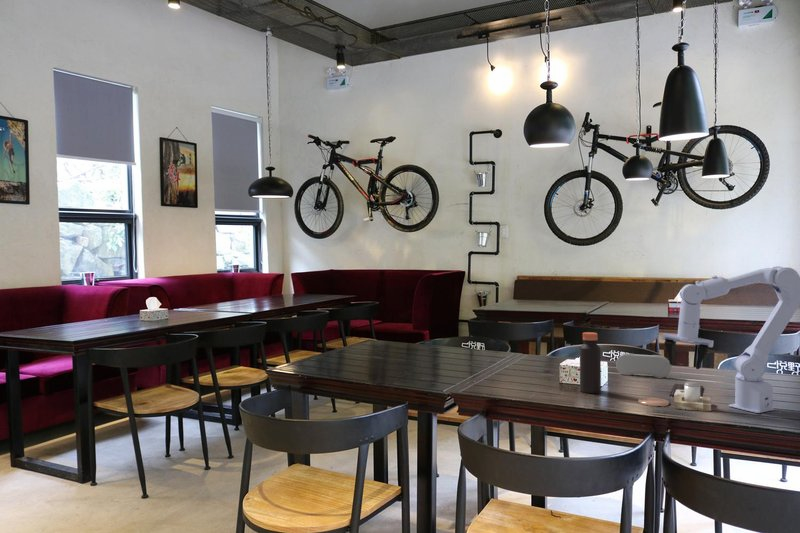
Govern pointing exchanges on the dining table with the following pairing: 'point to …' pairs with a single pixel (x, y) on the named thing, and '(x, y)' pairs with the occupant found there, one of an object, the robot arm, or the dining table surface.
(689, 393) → the light gray cylinder
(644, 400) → the terracotta saucer
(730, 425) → the dining table surface
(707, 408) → the birch holder
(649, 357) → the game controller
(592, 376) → the bottle
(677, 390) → the chocolate bar
